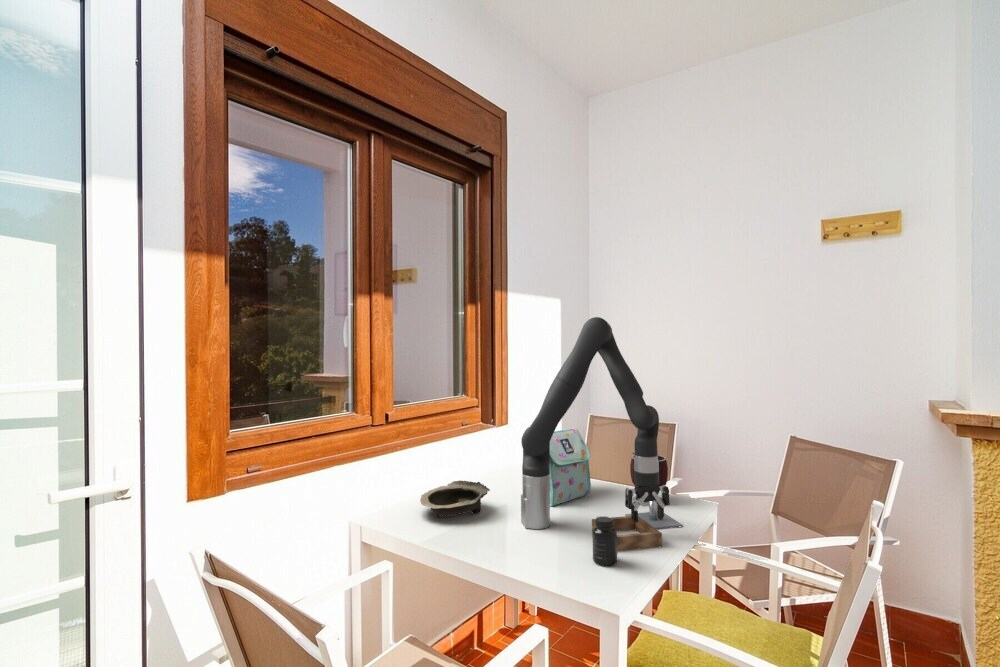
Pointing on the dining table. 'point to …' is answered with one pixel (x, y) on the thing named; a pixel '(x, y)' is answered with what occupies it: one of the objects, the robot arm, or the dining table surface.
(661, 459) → the mate gourd
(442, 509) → the stone bowl
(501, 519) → the dining table surface
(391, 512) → the dining table surface
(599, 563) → the supplement bottle
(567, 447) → the lunch bag
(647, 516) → the slate plate
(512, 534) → the dining table surface
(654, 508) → the steel post
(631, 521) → the walnut collar
